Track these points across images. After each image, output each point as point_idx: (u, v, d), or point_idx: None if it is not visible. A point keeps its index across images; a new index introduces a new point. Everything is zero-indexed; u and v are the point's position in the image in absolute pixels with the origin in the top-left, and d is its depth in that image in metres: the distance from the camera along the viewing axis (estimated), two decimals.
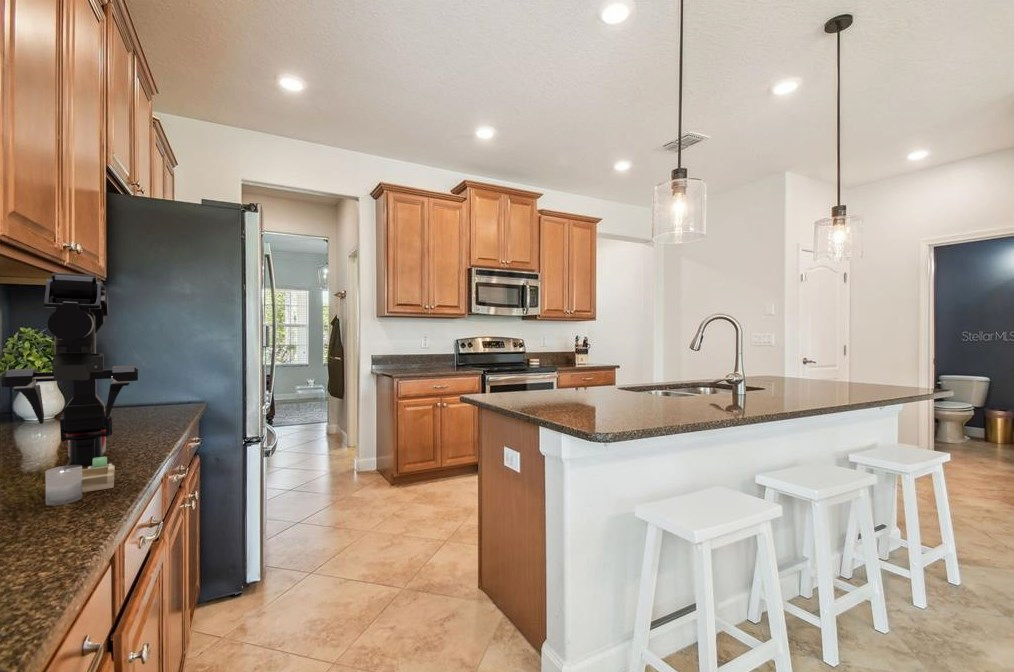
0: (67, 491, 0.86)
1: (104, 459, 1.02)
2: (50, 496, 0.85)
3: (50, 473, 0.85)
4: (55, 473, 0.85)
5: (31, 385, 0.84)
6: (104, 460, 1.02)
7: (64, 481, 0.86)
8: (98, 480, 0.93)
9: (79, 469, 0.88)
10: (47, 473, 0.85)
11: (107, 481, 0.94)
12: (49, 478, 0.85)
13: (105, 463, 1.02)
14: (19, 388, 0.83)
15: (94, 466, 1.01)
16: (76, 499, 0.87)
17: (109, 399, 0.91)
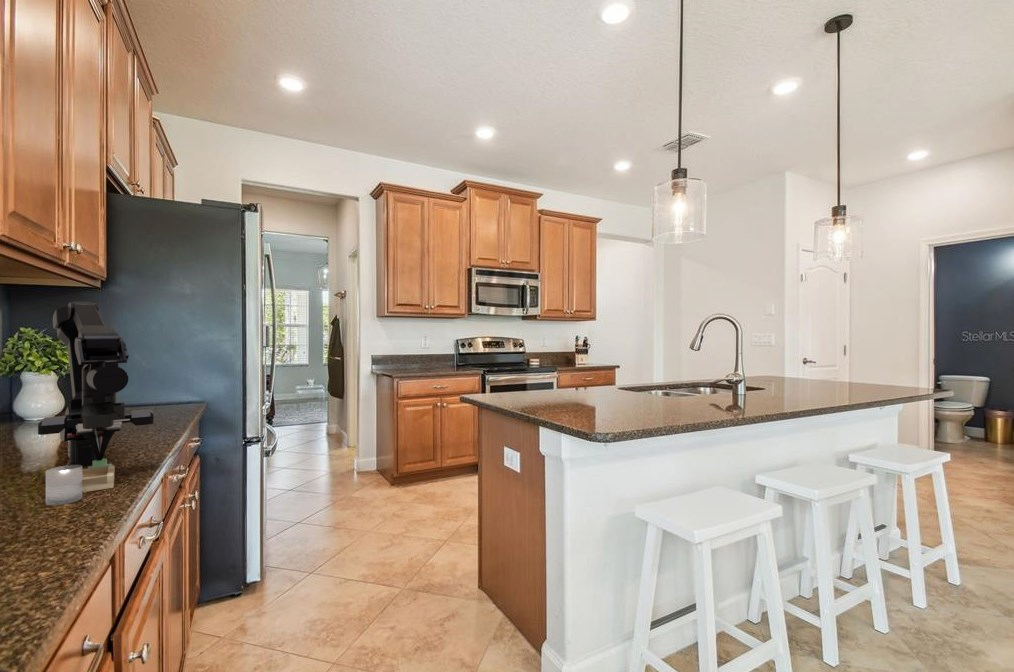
0: (67, 491, 0.86)
1: (104, 461, 1.02)
2: (50, 496, 0.85)
3: (50, 473, 0.85)
4: (55, 473, 0.85)
5: (91, 429, 1.00)
6: (104, 462, 1.02)
7: (64, 481, 0.86)
8: (98, 480, 0.93)
9: (79, 469, 0.88)
10: (47, 473, 0.85)
11: (107, 481, 0.94)
12: (49, 478, 0.85)
13: (105, 465, 1.02)
14: (81, 432, 0.98)
15: None
16: (76, 499, 0.87)
17: (103, 444, 1.02)
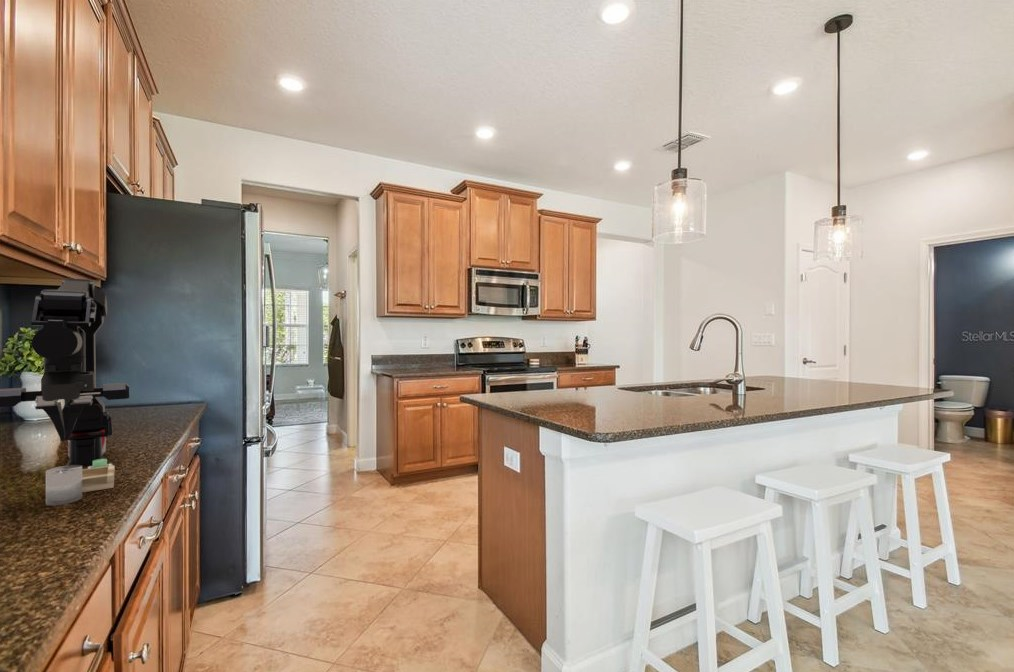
0: (67, 491, 0.86)
1: (104, 461, 1.02)
2: (50, 496, 0.85)
3: (50, 473, 0.85)
4: (55, 473, 0.85)
5: (53, 403, 0.85)
6: (104, 462, 1.02)
7: (64, 481, 0.86)
8: (98, 480, 0.93)
9: (79, 469, 0.88)
10: (47, 473, 0.85)
11: (107, 481, 0.94)
12: (49, 478, 0.85)
13: (105, 465, 1.02)
14: (41, 406, 0.84)
15: None
16: (76, 499, 0.87)
17: (69, 421, 0.87)
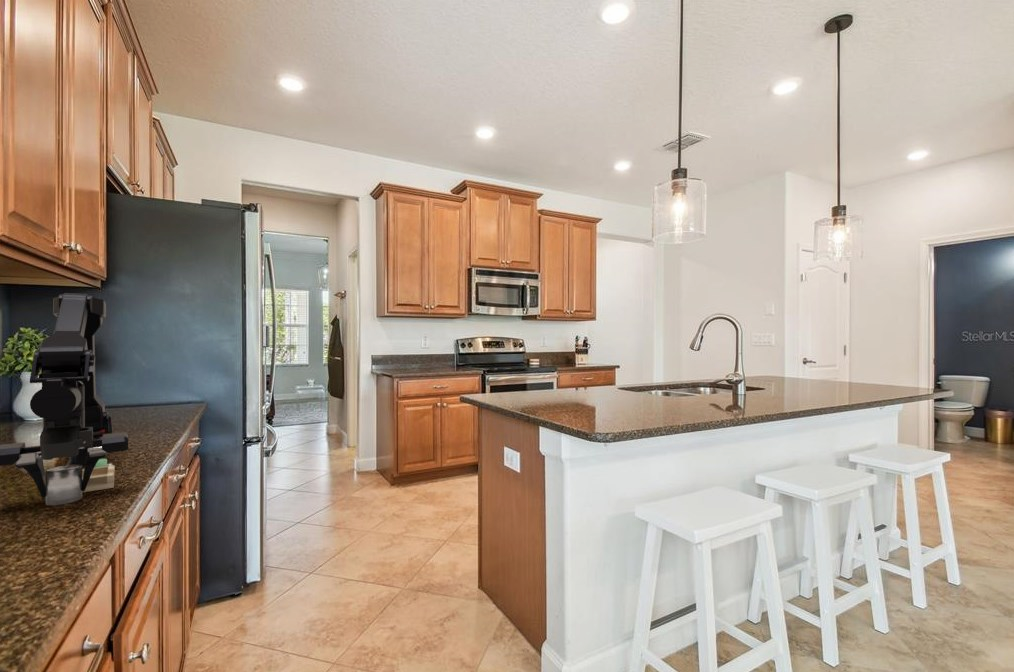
0: (67, 491, 0.86)
1: (104, 461, 1.02)
2: (50, 496, 0.85)
3: (50, 473, 0.85)
4: (55, 473, 0.85)
5: (34, 460, 0.83)
6: (104, 462, 1.02)
7: (64, 481, 0.86)
8: (98, 480, 0.93)
9: (79, 469, 0.88)
10: (47, 473, 0.85)
11: (107, 481, 0.94)
12: (49, 478, 0.85)
13: (105, 465, 1.02)
14: (21, 464, 0.82)
15: None
16: (76, 499, 0.87)
17: (85, 472, 0.89)
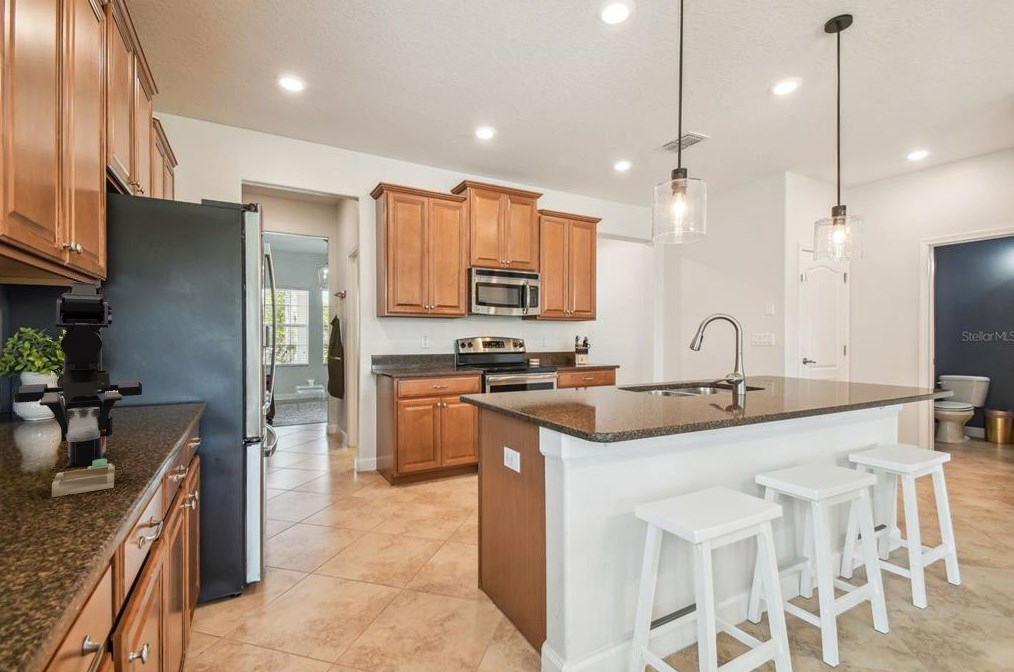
0: (86, 429, 0.93)
1: (104, 461, 1.02)
2: (71, 433, 0.92)
3: (71, 412, 0.92)
4: (75, 412, 0.92)
5: (56, 399, 0.91)
6: (104, 462, 1.02)
7: (84, 420, 0.93)
8: (98, 480, 0.93)
9: (97, 410, 0.95)
10: (68, 412, 0.92)
11: (107, 481, 0.94)
12: (70, 417, 0.92)
13: (105, 465, 1.02)
14: (45, 402, 0.89)
15: None
16: (94, 437, 0.94)
17: (103, 413, 0.96)
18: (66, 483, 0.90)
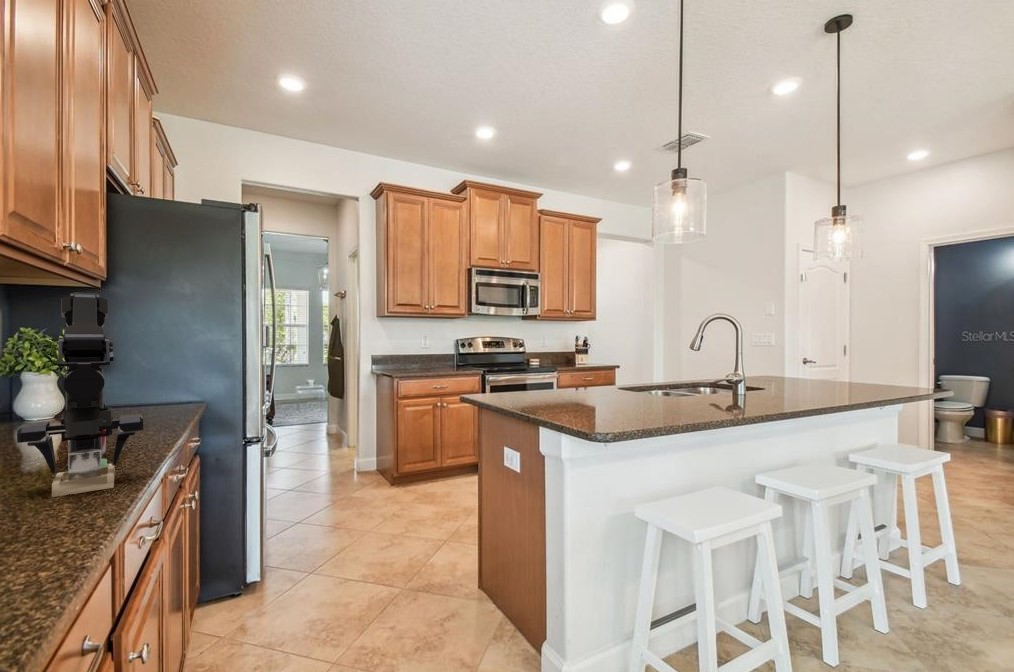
0: (88, 473, 0.94)
1: (104, 461, 1.02)
2: (72, 477, 0.93)
3: (73, 456, 0.93)
4: (77, 456, 0.93)
5: (44, 439, 0.90)
6: (104, 462, 1.02)
7: (85, 463, 0.93)
8: (98, 480, 0.93)
9: (99, 452, 0.96)
10: (70, 456, 0.93)
11: (107, 481, 0.94)
12: (71, 461, 0.93)
13: (105, 465, 1.02)
14: (33, 442, 0.89)
15: None
16: None
17: (116, 448, 0.97)
18: (66, 483, 0.90)
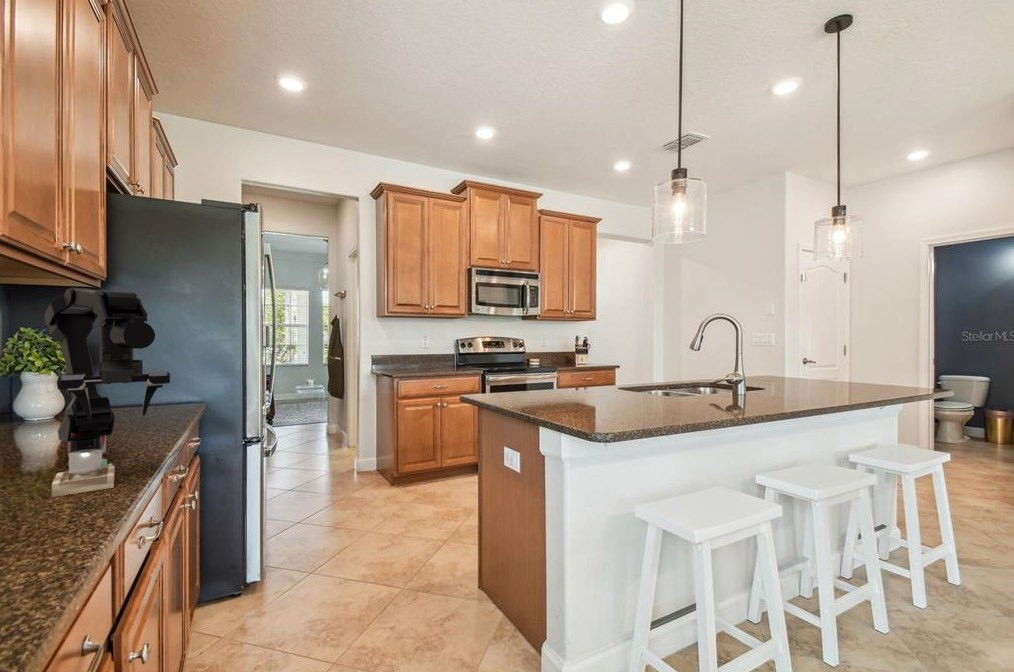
0: (88, 472, 0.94)
1: (104, 461, 1.02)
2: (72, 476, 0.93)
3: (73, 455, 0.93)
4: (78, 455, 0.93)
5: (81, 387, 0.98)
6: (104, 462, 1.02)
7: (86, 463, 0.93)
8: (98, 480, 0.93)
9: (99, 452, 0.96)
10: (70, 455, 0.93)
11: (107, 481, 0.94)
12: (72, 460, 0.93)
13: (105, 465, 1.02)
14: (72, 390, 0.97)
15: None
16: None
17: (145, 399, 1.06)
18: (66, 483, 0.90)
